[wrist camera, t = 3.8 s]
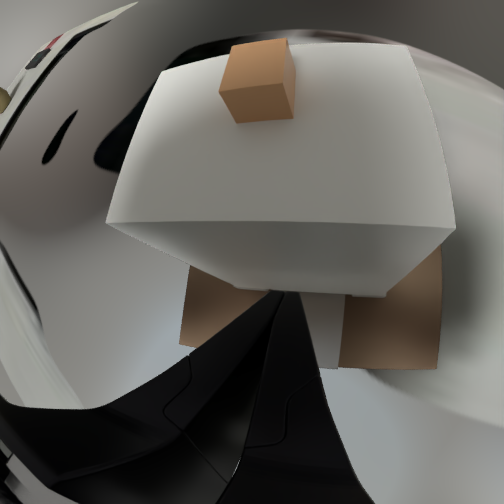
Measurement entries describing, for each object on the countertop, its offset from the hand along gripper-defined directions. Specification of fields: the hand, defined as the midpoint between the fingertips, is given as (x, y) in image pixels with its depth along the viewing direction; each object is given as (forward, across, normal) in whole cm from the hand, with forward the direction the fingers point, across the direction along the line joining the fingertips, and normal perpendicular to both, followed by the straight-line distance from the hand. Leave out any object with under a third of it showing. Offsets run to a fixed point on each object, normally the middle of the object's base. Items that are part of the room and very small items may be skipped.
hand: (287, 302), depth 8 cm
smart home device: (+56, +93, -44) cm, 117 cm away
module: (+7, 0, +2) cm, 7 cm away
